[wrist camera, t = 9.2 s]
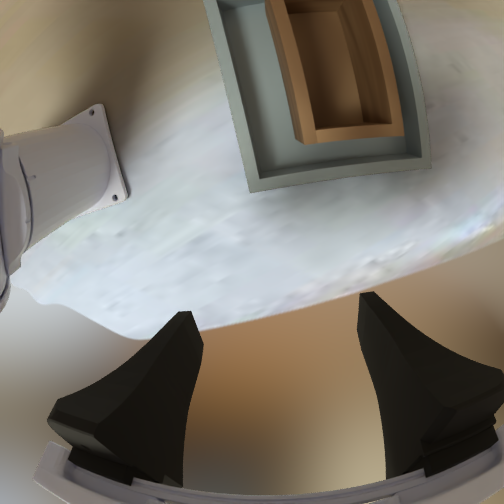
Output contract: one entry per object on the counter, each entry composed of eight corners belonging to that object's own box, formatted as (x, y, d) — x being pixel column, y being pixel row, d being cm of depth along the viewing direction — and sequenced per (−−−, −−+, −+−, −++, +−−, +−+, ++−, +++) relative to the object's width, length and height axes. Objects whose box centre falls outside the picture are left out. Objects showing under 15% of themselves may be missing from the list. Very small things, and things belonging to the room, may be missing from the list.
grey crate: (253, 182, 18) (250, 193, 15) (211, 10, 12) (201, -7, 10) (410, 160, 16) (431, 168, 14) (373, -4, 11) (388, -20, 8)
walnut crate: (295, 139, 16) (304, 145, 11) (265, 13, 12) (262, -22, 7) (370, 130, 15) (404, 135, 11) (341, 7, 11) (362, -24, 7)
